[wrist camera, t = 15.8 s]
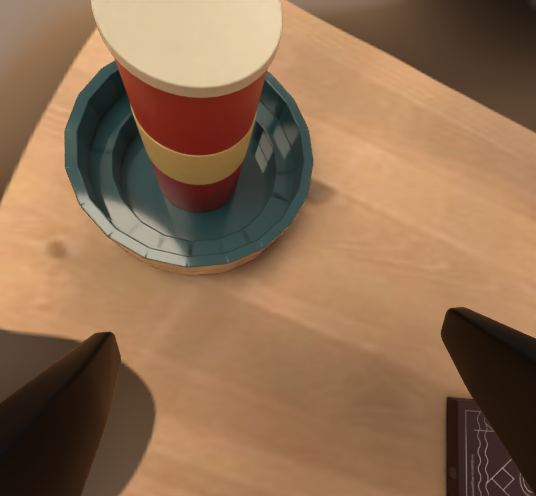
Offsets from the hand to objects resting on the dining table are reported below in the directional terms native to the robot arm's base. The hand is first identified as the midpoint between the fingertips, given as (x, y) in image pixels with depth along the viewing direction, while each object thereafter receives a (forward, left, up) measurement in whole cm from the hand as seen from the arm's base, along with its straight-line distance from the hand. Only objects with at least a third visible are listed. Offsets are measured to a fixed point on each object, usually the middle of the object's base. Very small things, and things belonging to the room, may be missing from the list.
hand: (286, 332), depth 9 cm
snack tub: (+1, +10, -12) cm, 16 cm away
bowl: (+1, +10, -13) cm, 16 cm away
